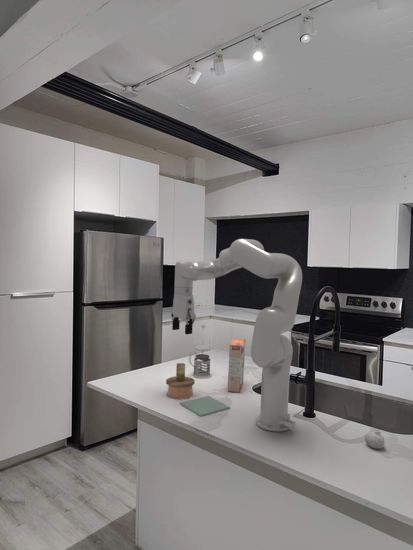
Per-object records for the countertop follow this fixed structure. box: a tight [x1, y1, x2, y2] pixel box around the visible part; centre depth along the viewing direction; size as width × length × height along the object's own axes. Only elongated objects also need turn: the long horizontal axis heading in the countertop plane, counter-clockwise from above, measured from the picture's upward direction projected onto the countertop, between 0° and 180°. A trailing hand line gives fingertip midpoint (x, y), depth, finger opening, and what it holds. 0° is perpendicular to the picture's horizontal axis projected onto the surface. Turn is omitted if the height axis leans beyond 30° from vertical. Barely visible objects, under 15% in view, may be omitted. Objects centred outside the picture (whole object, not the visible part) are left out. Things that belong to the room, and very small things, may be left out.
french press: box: [188, 324, 213, 380], centre depth 187 cm, size 10×12×25 cm
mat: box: [179, 395, 231, 417], centre depth 150 cm, size 14×14×1 cm
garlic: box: [364, 430, 385, 450], centre depth 121 cm, size 6×5×5 cm
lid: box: [165, 362, 196, 387], centre depth 161 cm, size 12×12×8 cm
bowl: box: [167, 385, 193, 400], centre depth 162 cm, size 10×10×5 cm
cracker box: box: [227, 338, 246, 394], centre depth 172 cm, size 14×6×21 cm, turn 168°
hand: (182, 331), depth 161 cm, fingers open, 9 cm apart
